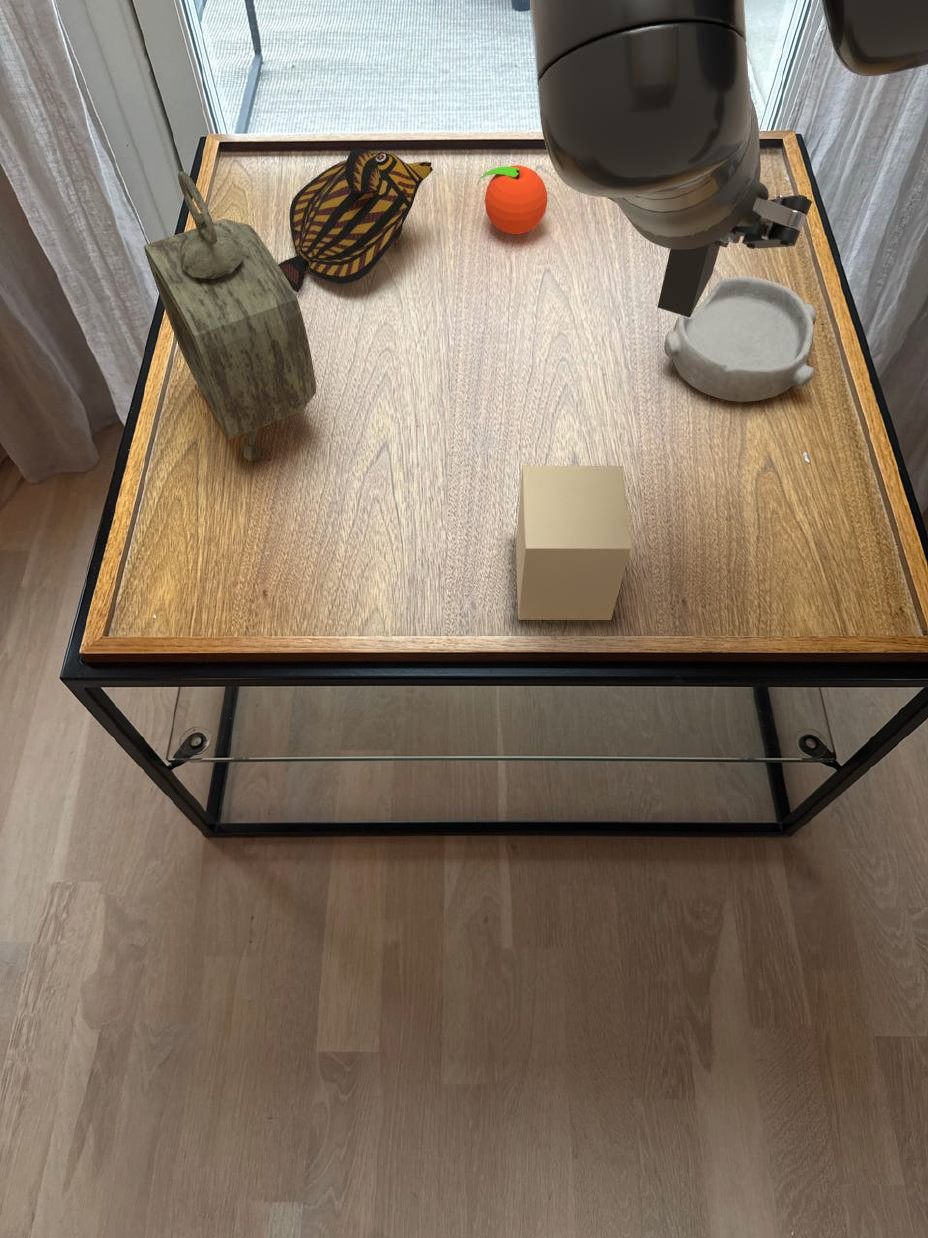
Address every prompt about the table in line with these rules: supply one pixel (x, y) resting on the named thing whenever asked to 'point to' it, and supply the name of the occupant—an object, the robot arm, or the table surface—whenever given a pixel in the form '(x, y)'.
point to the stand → (571, 542)
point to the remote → (687, 278)
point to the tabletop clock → (234, 321)
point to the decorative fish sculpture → (351, 216)
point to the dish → (745, 341)
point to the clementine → (515, 199)
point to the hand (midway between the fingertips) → (705, 223)
